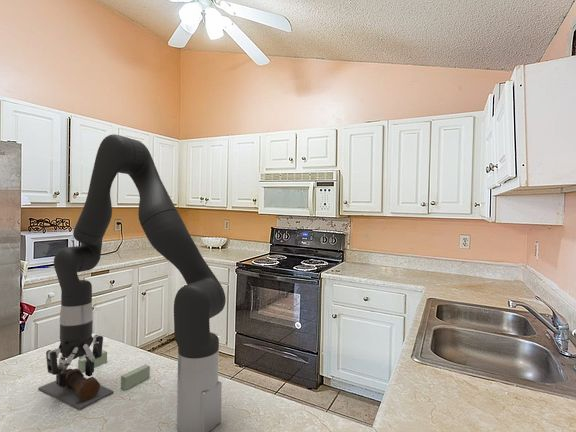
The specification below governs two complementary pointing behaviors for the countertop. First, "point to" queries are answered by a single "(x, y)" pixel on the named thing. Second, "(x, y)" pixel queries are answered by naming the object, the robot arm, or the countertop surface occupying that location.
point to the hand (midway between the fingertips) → (75, 380)
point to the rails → (126, 379)
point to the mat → (73, 395)
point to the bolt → (82, 384)
